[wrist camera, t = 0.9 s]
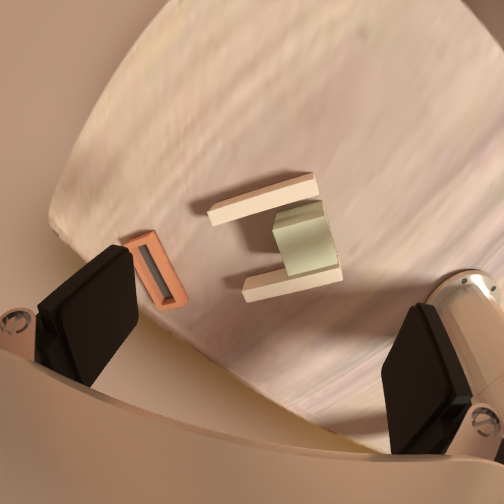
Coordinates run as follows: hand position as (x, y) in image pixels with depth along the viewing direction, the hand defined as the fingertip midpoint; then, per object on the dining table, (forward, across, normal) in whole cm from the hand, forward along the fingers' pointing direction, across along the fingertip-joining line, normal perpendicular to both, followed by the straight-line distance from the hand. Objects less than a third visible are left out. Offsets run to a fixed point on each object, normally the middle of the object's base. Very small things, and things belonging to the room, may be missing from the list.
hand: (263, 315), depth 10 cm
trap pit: (+24, +15, +14) cm, 32 cm away
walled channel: (+24, +1, +7) cm, 25 cm away
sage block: (+24, -2, +6) cm, 25 cm away
